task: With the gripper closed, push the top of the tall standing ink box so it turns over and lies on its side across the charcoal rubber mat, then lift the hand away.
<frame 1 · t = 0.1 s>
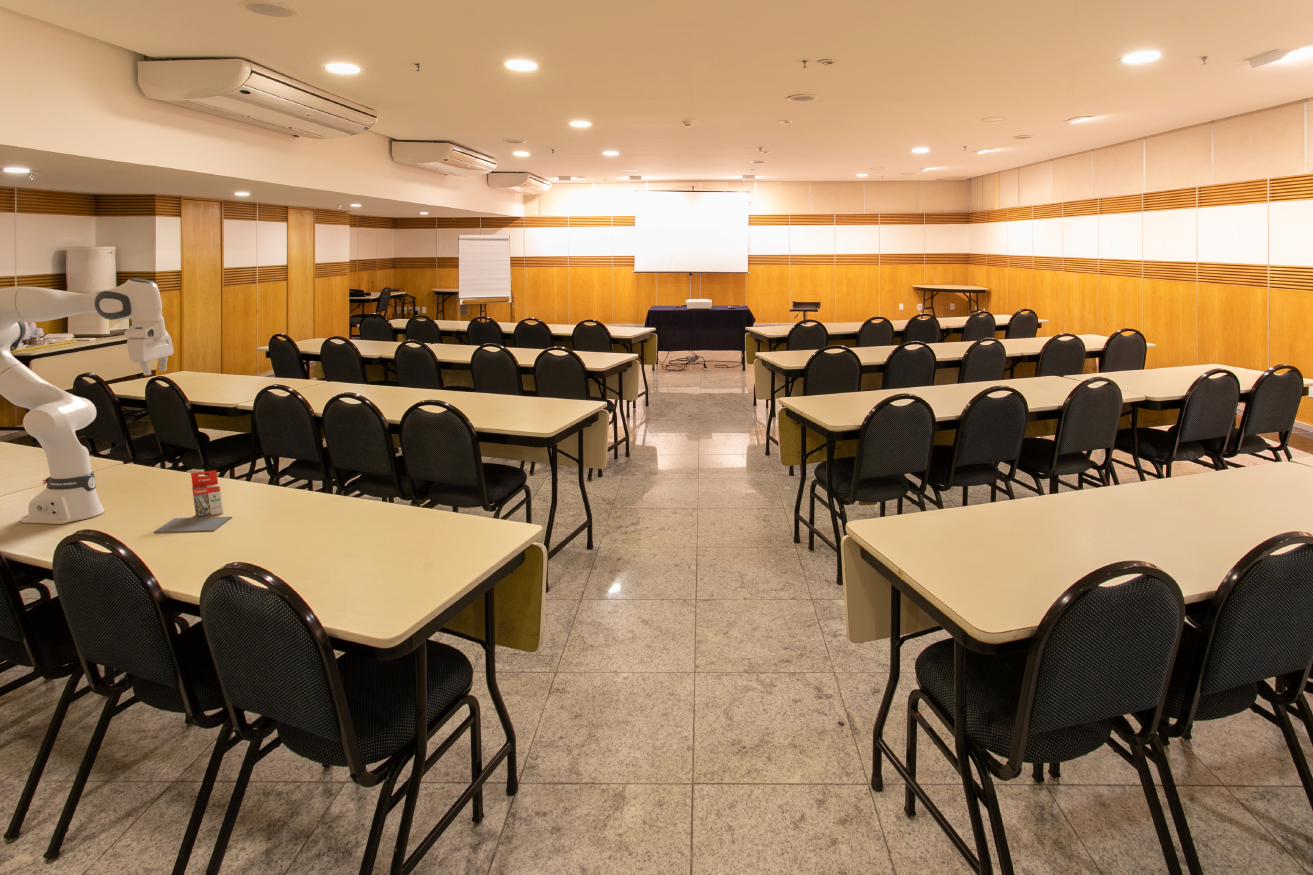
hand: (155, 372, 249), 48 cm above the table, tool pointing down, fingers open, 8 cm apart
ink box: (209, 514, 258), on the table
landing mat: (194, 525, 247), on the table
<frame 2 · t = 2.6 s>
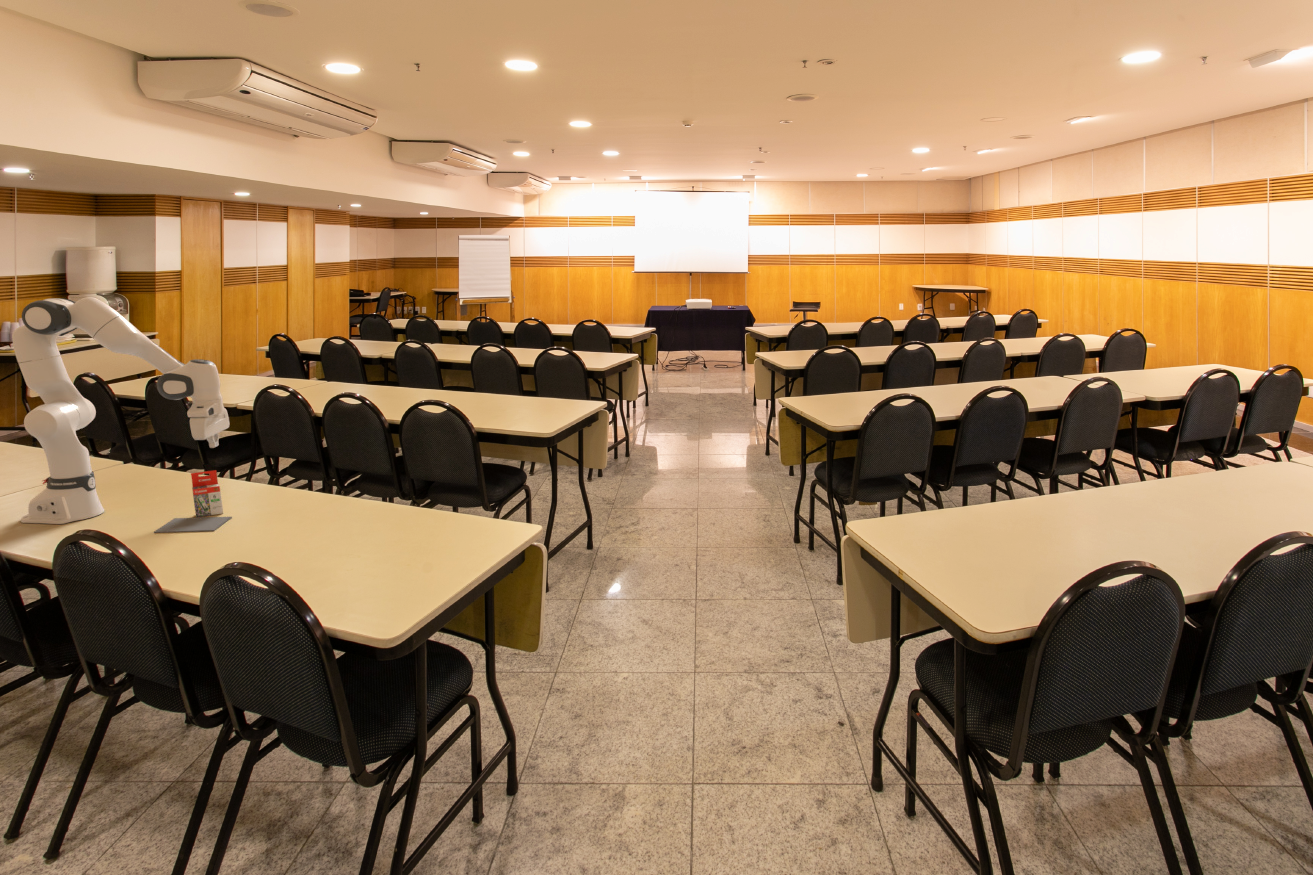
hand: (214, 446, 262), 21 cm above the table, tool pointing down, fingers closed
nothing on the table moved.
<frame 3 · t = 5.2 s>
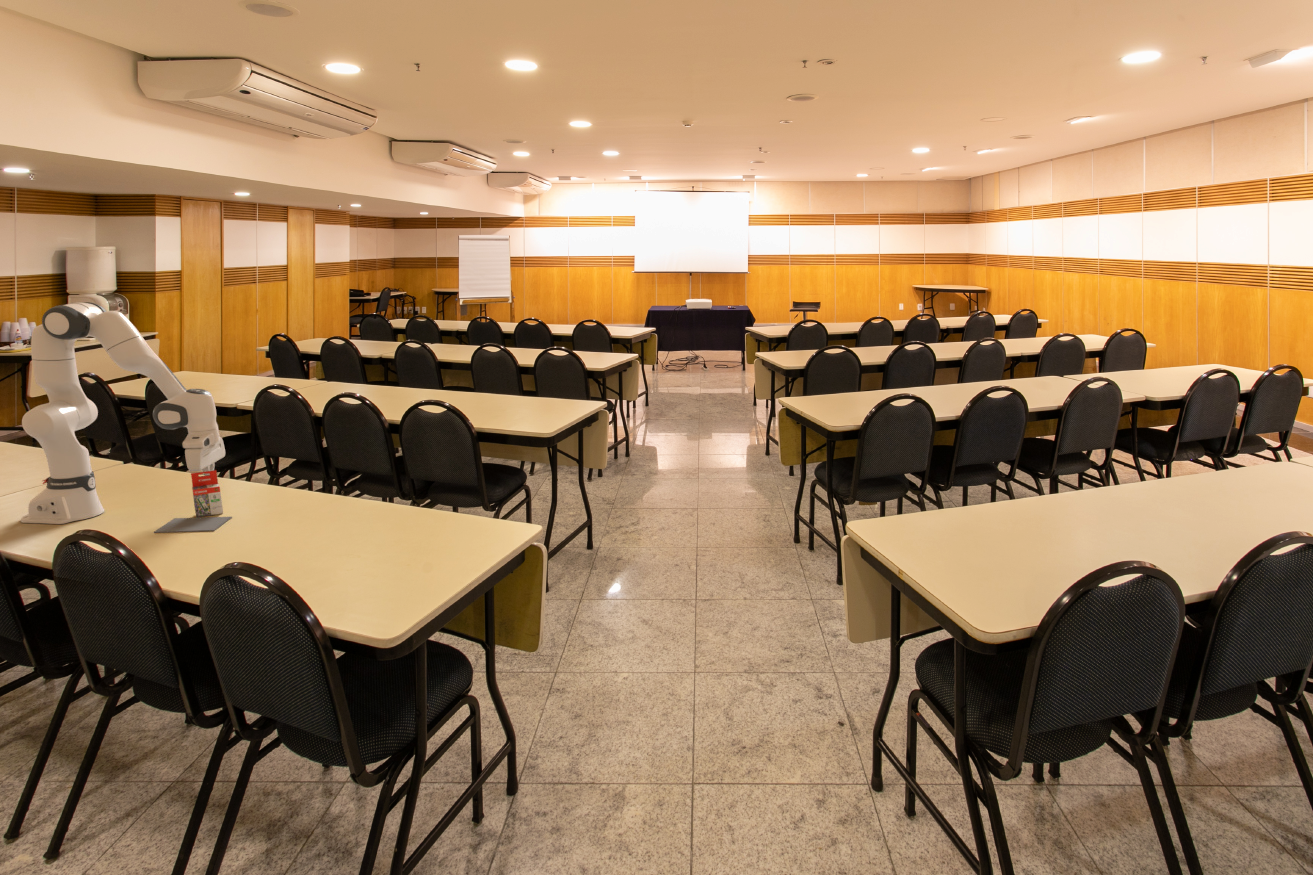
hand: (209, 476, 259), 12 cm above the table, tool pointing down, fingers closed
ink box: (209, 514, 258), on the table, touching gripper
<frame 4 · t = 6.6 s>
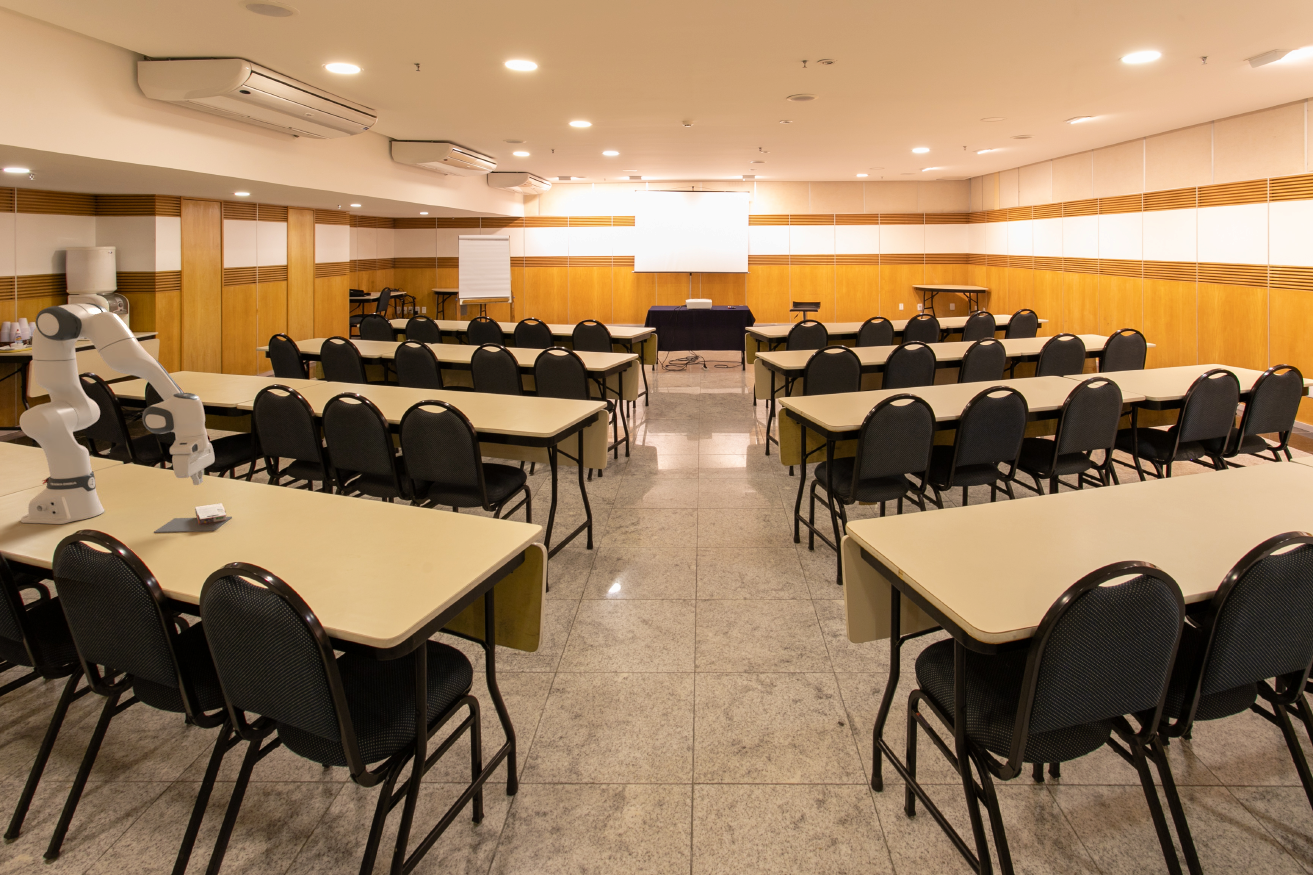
hand: (198, 483, 251), 12 cm above the table, tool pointing down, fingers closed
ink box: (208, 509, 256), point 2 cm above the table, touching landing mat
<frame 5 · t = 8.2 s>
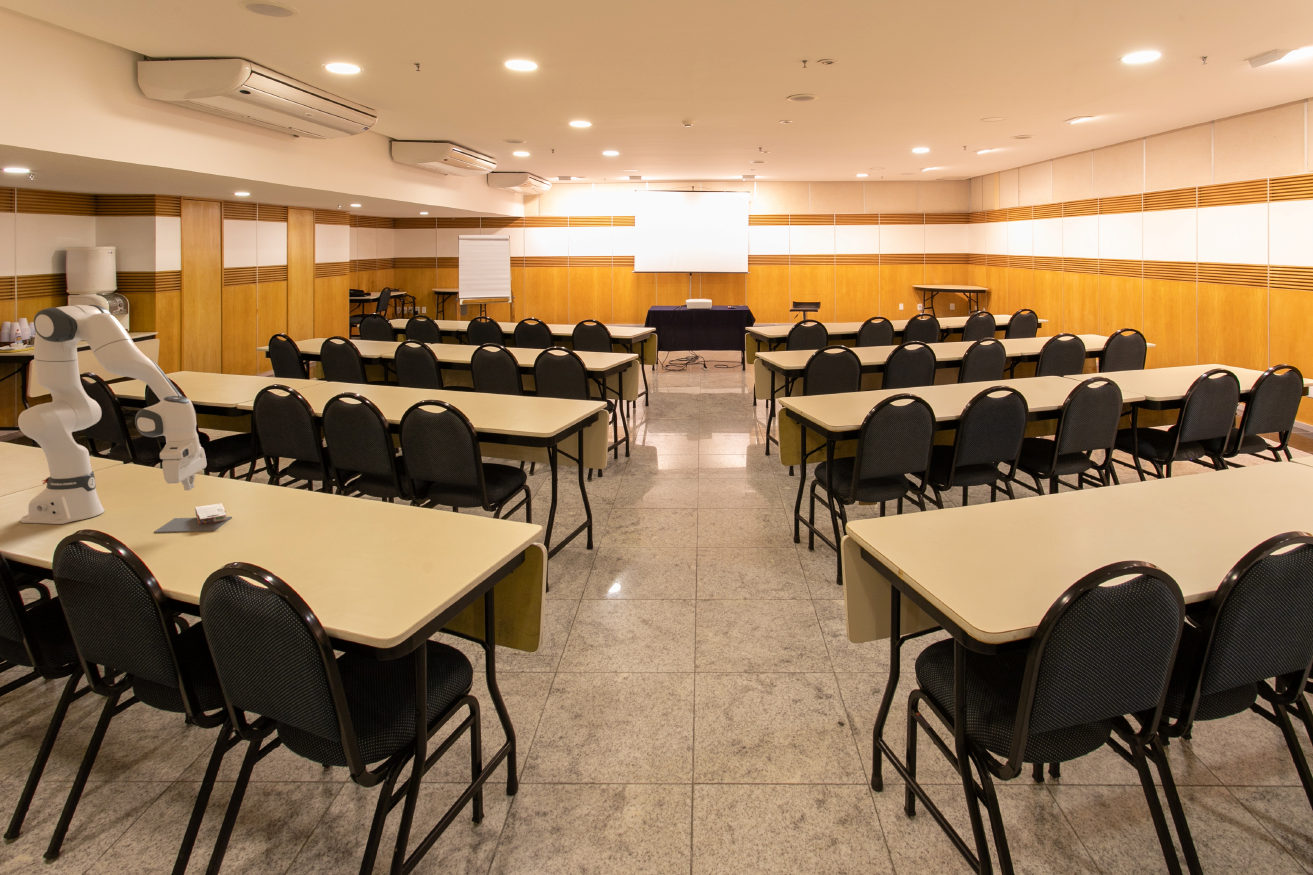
hand: (189, 489, 245), 12 cm above the table, tool pointing down, fingers closed
nothing on the table moved.
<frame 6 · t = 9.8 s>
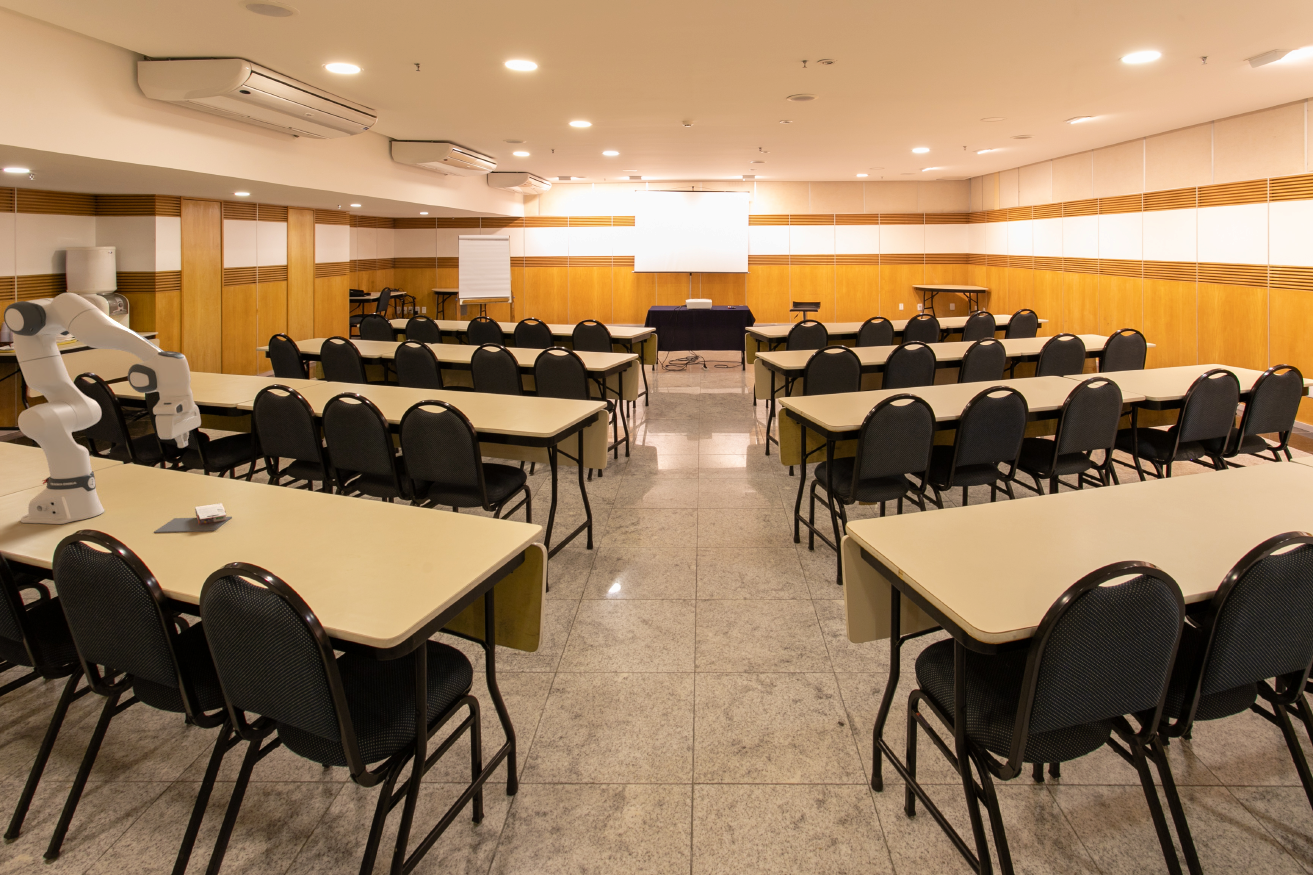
hand: (183, 446, 242), 26 cm above the table, tool pointing down, fingers closed
nothing on the table moved.
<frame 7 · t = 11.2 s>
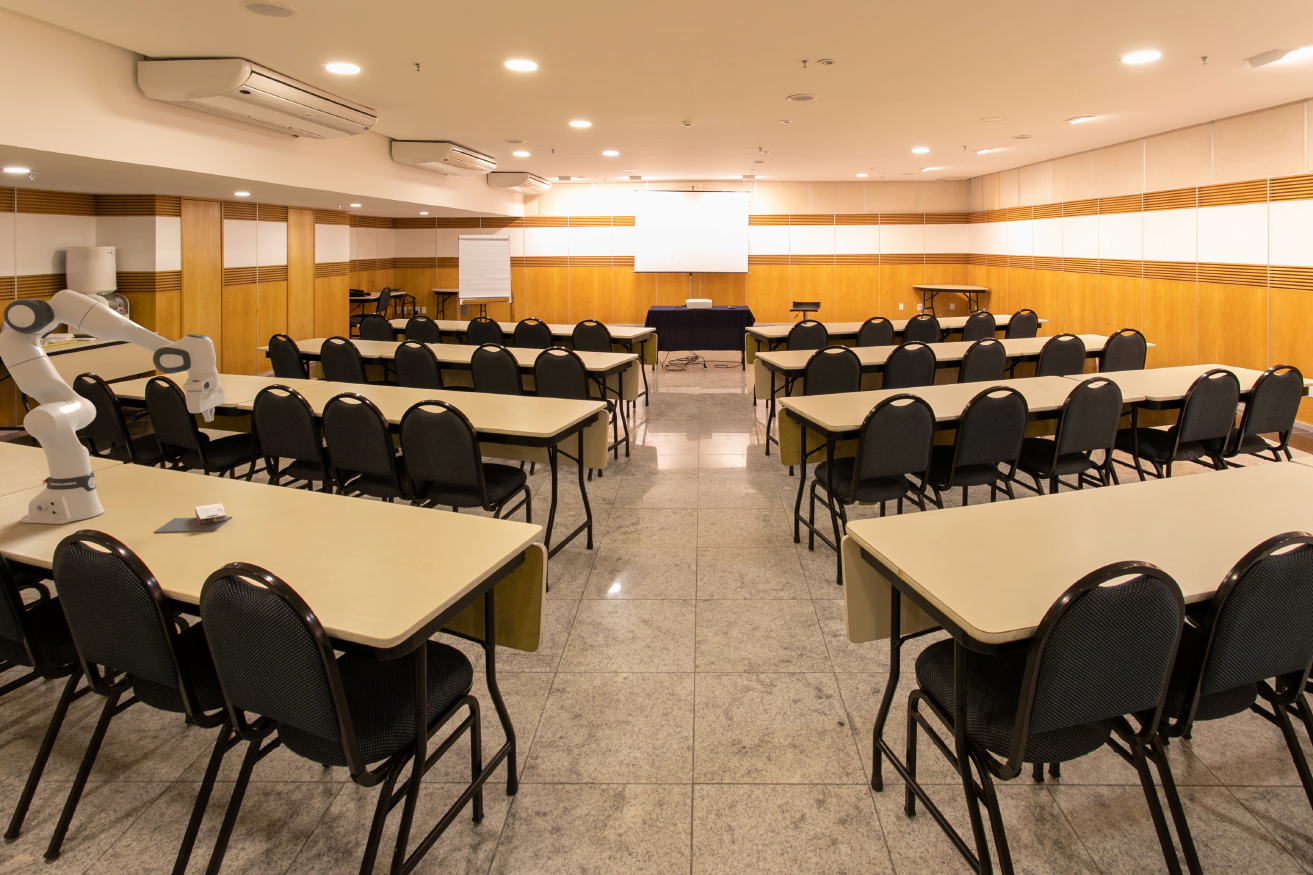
hand: (209, 421, 265), 29 cm above the table, tool pointing down, fingers closed
nothing on the table moved.
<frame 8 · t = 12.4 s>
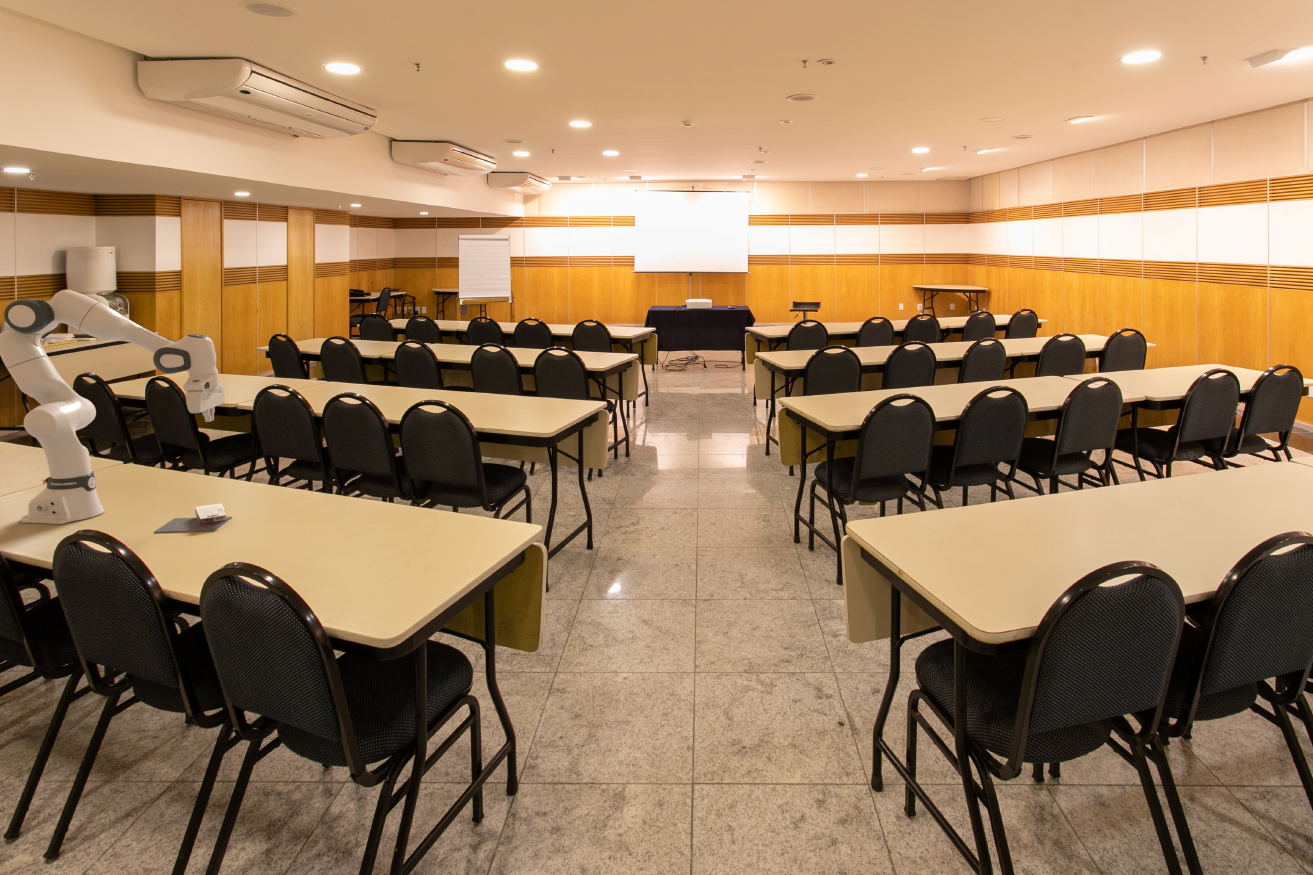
hand: (209, 421, 266), 29 cm above the table, tool pointing down, fingers closed
nothing on the table moved.
at the end: ink box tilted 91°; ink box inside the target area (2.6 cm from its centre), point 2.3 cm above the table; ink box touching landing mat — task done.
